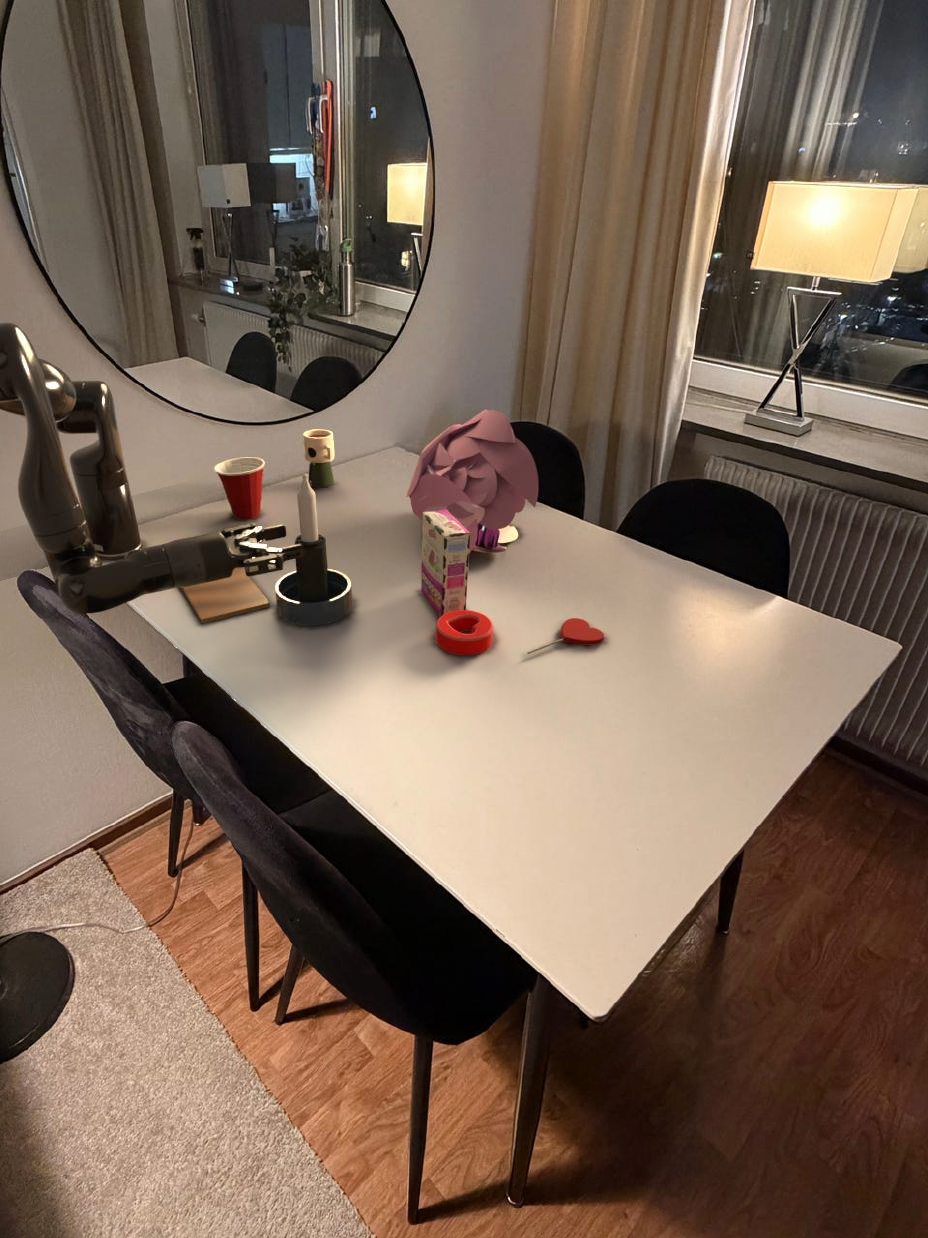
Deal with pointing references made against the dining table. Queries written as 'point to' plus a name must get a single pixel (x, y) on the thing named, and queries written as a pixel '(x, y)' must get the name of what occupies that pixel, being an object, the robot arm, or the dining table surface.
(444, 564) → the candy bar box
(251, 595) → the mat
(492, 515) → the flower arrangement
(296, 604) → the bowl
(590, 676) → the dining table surface
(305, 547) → the candle
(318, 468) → the character mug
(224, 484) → the plastic cup
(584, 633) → the lollipop
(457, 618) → the decorative ornament
